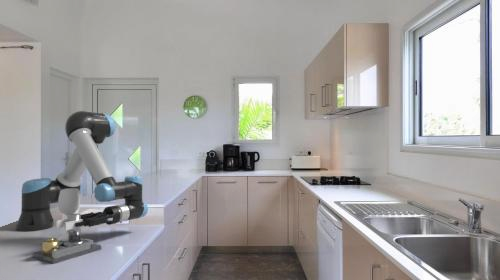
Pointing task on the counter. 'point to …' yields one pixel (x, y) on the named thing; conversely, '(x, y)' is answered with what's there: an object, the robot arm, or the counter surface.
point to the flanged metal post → (74, 232)
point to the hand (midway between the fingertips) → (61, 225)
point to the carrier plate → (49, 257)
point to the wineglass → (68, 205)
